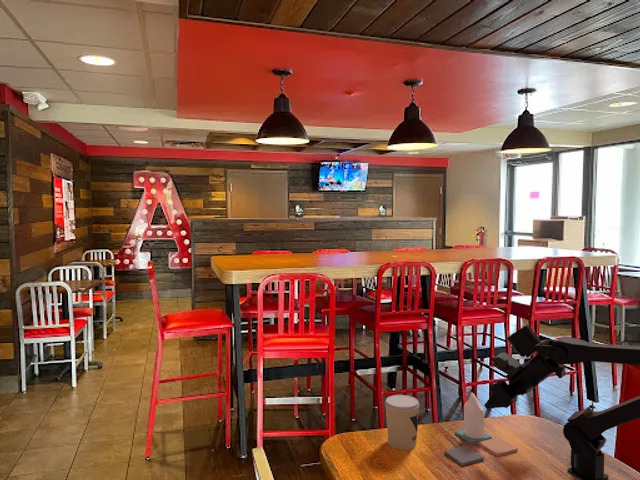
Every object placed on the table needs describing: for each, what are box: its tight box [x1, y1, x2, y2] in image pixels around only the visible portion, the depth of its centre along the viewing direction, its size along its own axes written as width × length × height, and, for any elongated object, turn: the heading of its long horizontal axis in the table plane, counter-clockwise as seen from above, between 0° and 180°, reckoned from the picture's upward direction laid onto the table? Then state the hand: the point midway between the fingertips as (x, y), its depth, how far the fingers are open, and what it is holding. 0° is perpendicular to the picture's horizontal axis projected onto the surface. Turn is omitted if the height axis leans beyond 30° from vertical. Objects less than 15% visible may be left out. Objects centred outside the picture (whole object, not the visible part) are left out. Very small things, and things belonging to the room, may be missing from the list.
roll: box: [463, 391, 485, 439], centre depth 136 cm, size 6×12×6 cm
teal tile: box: [454, 428, 493, 445], centre depth 136 cm, size 7×7×1 cm
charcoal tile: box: [443, 445, 485, 467], centre depth 125 cm, size 7×7×1 cm
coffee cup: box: [384, 394, 420, 451], centre depth 133 cm, size 9×9×12 cm
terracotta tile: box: [478, 436, 519, 458], centre depth 130 cm, size 7×7×1 cm
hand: (492, 402), depth 132 cm, fingers open, 9 cm apart
